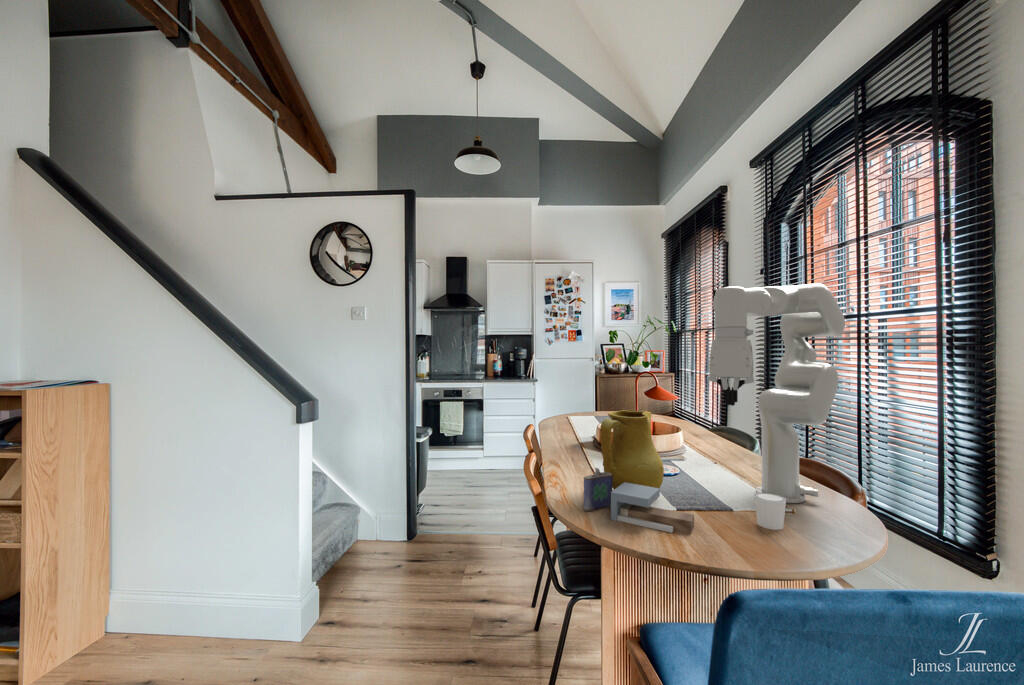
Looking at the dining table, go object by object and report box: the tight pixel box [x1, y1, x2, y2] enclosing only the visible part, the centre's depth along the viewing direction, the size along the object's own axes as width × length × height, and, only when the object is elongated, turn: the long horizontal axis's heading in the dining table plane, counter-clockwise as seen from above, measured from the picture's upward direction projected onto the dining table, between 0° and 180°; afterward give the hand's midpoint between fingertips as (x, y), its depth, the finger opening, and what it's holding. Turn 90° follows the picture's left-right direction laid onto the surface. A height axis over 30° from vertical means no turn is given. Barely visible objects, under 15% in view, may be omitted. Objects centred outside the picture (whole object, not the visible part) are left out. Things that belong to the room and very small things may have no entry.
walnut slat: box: [620, 503, 695, 534], centre depth 112 cm, size 17×5×3 cm, turn 60°
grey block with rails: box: [610, 482, 674, 534], centre depth 114 cm, size 15×10×7 cm, turn 57°
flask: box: [583, 467, 613, 513], centre depth 122 cm, size 9×3×11 cm, turn 117°
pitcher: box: [599, 409, 665, 491], centre depth 132 cm, size 17×19×25 cm
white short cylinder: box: [754, 493, 787, 531], centre depth 111 cm, size 7×7×7 cm
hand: (730, 404), depth 117 cm, fingers closed
